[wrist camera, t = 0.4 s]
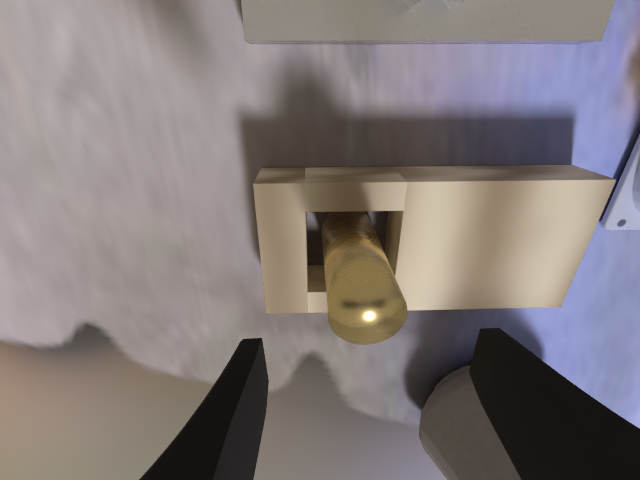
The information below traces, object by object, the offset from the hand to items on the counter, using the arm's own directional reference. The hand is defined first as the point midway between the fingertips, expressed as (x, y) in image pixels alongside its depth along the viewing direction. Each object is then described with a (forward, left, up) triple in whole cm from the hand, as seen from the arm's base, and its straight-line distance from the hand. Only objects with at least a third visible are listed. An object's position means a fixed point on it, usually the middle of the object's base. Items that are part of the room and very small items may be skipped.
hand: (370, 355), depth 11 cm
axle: (0, 0, -10) cm, 10 cm away
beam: (-4, 0, -10) cm, 11 cm away
